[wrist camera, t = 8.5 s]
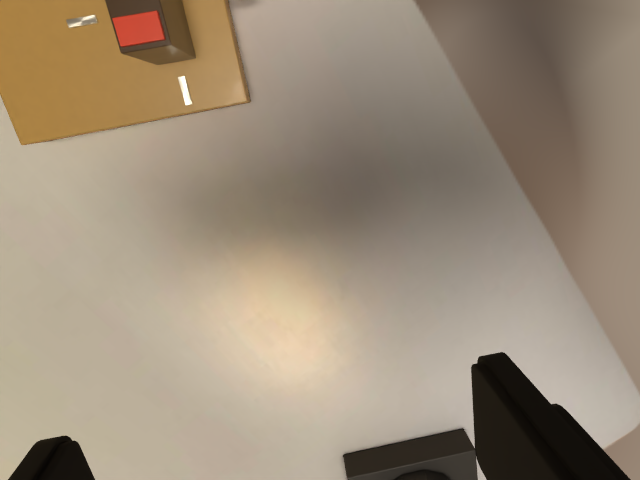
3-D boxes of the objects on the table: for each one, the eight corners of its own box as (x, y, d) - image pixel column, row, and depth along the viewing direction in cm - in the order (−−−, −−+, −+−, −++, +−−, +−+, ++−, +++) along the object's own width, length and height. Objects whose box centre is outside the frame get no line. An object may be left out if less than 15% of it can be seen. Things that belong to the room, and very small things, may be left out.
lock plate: (236, -108, 21) (229, -138, 18) (277, 97, 24) (277, 96, 22) (-33, -61, 20) (-77, -84, 18) (46, 141, 24) (19, 145, 21)
